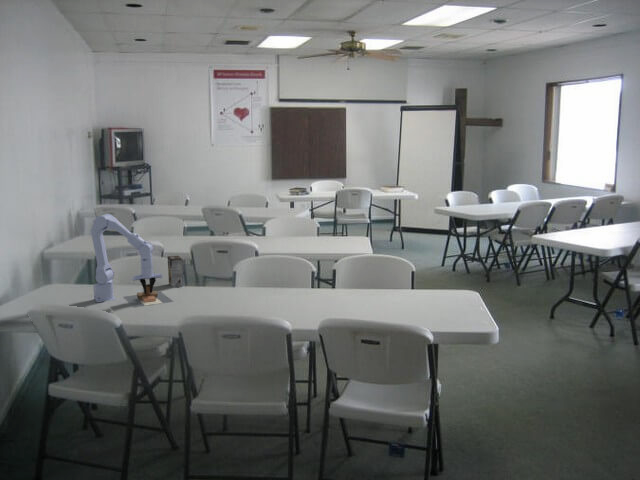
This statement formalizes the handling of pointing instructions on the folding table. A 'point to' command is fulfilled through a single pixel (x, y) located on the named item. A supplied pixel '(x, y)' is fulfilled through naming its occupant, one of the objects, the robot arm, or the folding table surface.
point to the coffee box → (175, 271)
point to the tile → (148, 298)
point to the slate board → (138, 302)
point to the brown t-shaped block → (147, 292)
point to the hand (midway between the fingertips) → (148, 292)
